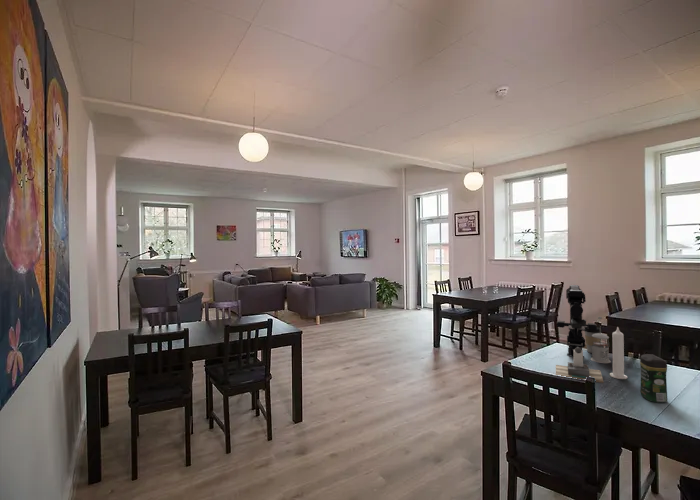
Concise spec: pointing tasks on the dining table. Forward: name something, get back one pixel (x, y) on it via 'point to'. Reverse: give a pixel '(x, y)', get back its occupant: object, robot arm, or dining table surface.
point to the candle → (618, 355)
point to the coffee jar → (653, 378)
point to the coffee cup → (591, 338)
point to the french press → (600, 349)
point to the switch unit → (578, 372)
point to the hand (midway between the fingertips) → (576, 340)
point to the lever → (578, 357)
